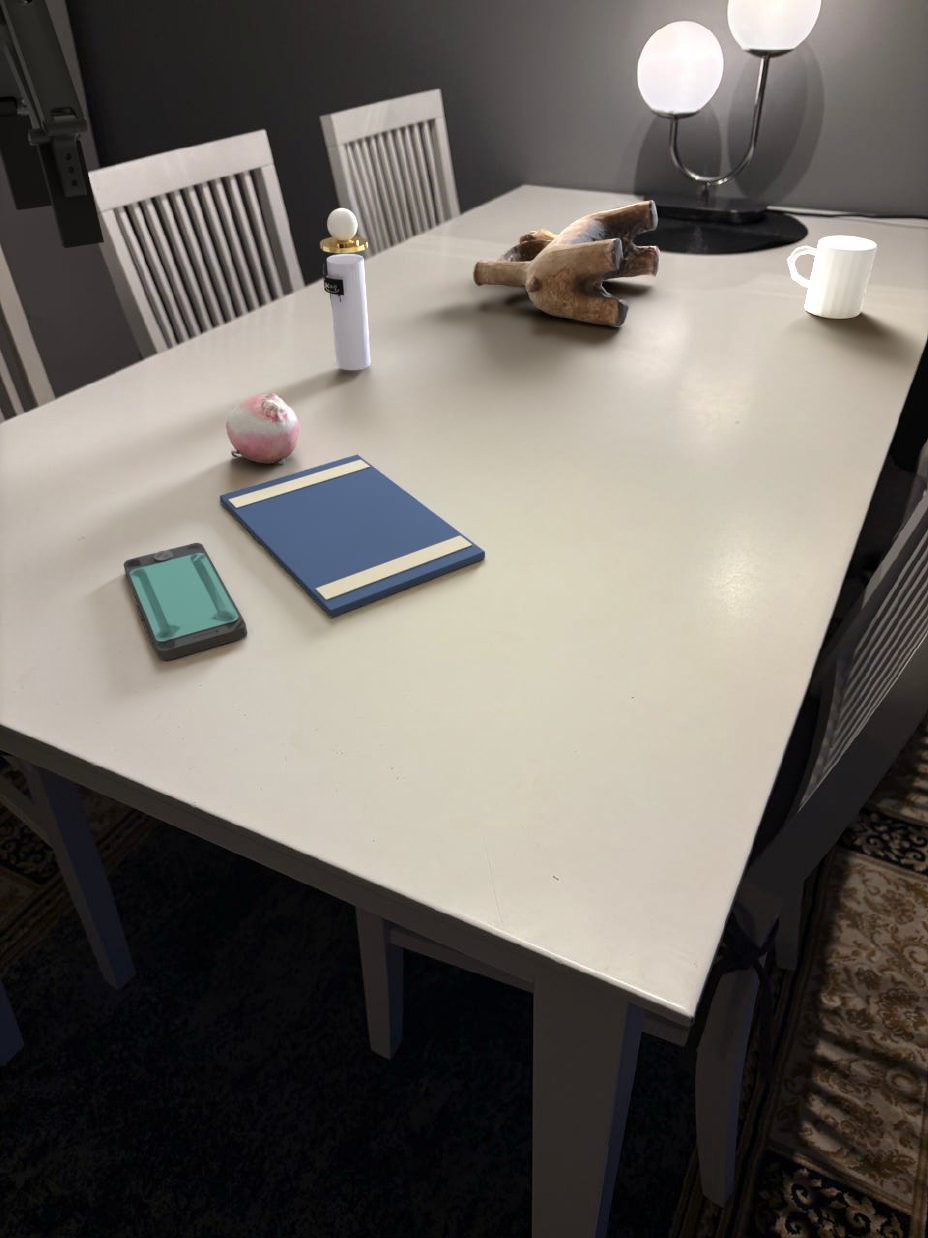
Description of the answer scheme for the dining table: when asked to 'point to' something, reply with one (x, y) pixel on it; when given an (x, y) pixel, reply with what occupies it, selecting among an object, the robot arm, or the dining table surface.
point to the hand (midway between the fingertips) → (57, 224)
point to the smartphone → (183, 601)
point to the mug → (836, 275)
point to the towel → (349, 533)
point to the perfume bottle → (347, 291)
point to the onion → (263, 429)
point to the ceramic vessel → (579, 264)
